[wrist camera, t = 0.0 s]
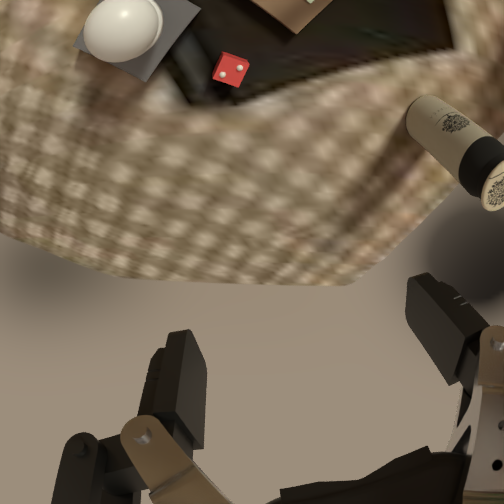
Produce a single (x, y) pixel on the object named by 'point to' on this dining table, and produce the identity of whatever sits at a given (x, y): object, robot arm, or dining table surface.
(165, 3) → the dome housing
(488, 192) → the travel mug
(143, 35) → the dome
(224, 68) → the red die
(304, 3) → the game board
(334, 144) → the dining table surface
